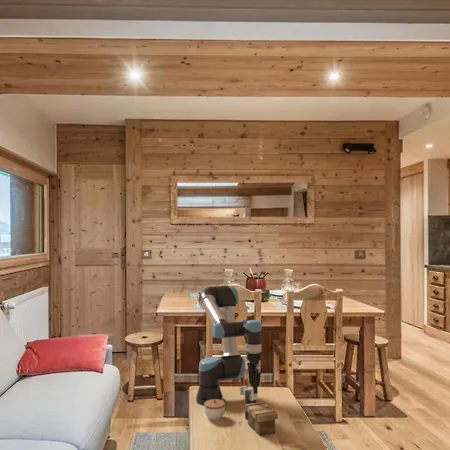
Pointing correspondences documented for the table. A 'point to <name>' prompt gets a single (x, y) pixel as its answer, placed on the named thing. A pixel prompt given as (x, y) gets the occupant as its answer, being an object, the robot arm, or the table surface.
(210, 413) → the lidded jar
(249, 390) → the keeper
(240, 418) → the table surface
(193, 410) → the table surface
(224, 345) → the robot arm
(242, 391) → the bolt
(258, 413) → the lid
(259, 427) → the open wooden box
